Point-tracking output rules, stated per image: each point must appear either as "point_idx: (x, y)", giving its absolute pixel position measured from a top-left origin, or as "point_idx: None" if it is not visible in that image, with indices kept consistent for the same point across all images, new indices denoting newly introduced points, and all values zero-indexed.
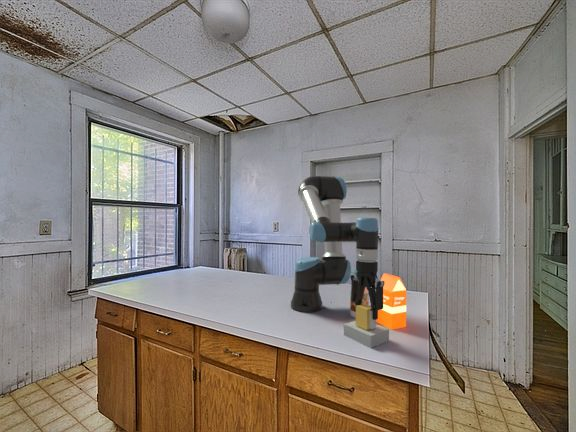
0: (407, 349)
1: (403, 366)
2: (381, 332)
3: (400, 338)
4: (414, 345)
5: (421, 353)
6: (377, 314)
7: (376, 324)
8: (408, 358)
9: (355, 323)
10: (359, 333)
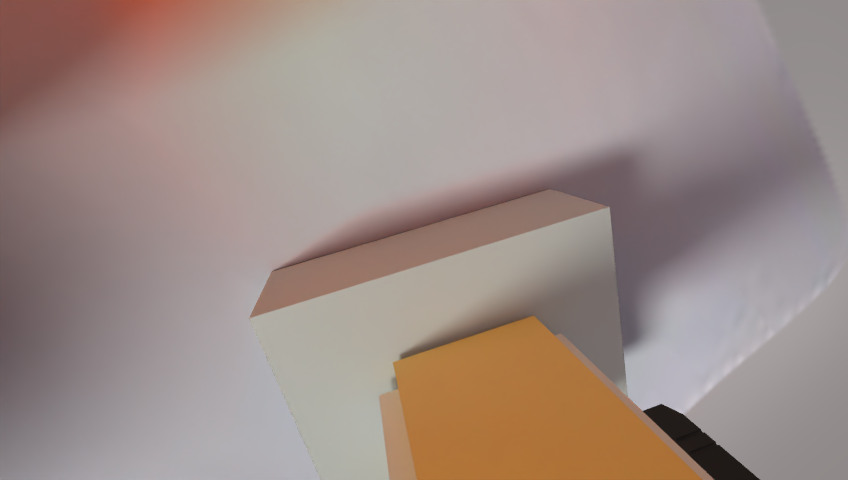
0: (696, 152)
1: (783, 316)
2: (616, 313)
3: (557, 54)
4: (687, 44)
5: (772, 101)
6: (727, 459)
7: (463, 255)
8: (759, 234)
9: (367, 445)
10: None
